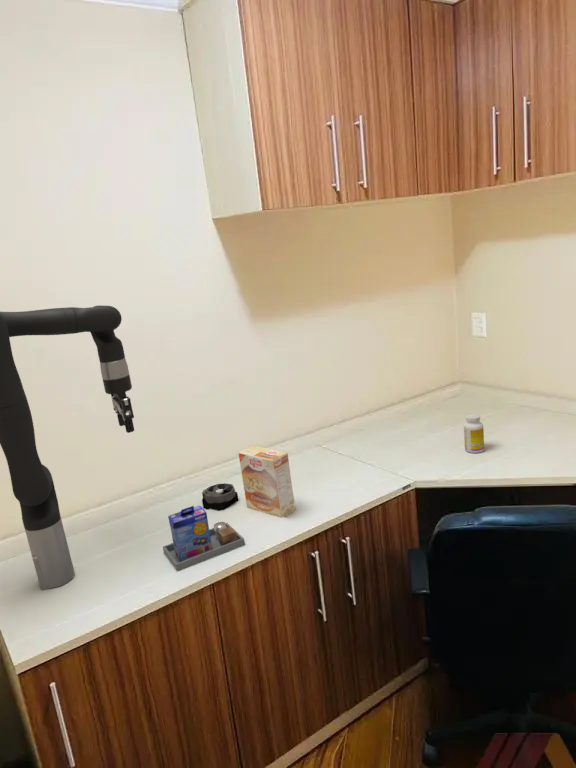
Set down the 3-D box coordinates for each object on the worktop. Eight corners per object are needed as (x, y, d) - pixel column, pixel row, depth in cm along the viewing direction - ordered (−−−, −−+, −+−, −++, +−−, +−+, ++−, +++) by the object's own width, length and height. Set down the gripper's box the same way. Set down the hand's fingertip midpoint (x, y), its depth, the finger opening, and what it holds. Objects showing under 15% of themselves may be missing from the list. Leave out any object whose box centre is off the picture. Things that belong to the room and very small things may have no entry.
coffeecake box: (246, 509, 187) (237, 452, 182) (261, 500, 192) (253, 444, 188) (281, 520, 178) (272, 460, 173) (296, 510, 183) (288, 451, 178)
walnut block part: (225, 549, 164) (222, 536, 163) (219, 543, 167) (217, 531, 166) (238, 544, 166) (235, 531, 164) (232, 538, 169) (230, 526, 168)
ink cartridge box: (180, 563, 160) (171, 515, 156) (174, 554, 164) (165, 507, 161) (214, 550, 164) (205, 503, 160) (207, 542, 169) (198, 496, 165)
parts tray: (177, 573, 156) (176, 564, 156) (164, 554, 166) (162, 546, 166) (245, 546, 165) (244, 538, 164) (228, 530, 175) (227, 522, 175)
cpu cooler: (240, 485, 192) (219, 498, 185) (243, 501, 194) (222, 515, 186) (217, 480, 199) (196, 493, 191) (220, 495, 200) (199, 508, 192)
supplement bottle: (488, 449, 209) (487, 415, 205) (476, 455, 205) (474, 420, 202) (473, 445, 214) (471, 411, 211) (461, 450, 211) (459, 417, 207)
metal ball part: (218, 541, 168) (216, 529, 167) (213, 537, 171) (211, 524, 170) (230, 537, 170) (227, 525, 169) (225, 532, 173) (223, 520, 172)
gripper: (135, 376, 163) (146, 430, 167) (122, 368, 175) (133, 419, 179) (108, 382, 160) (119, 438, 164) (97, 374, 172) (108, 426, 176)
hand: (126, 428), depth 172 cm, fingers open, 8 cm apart
